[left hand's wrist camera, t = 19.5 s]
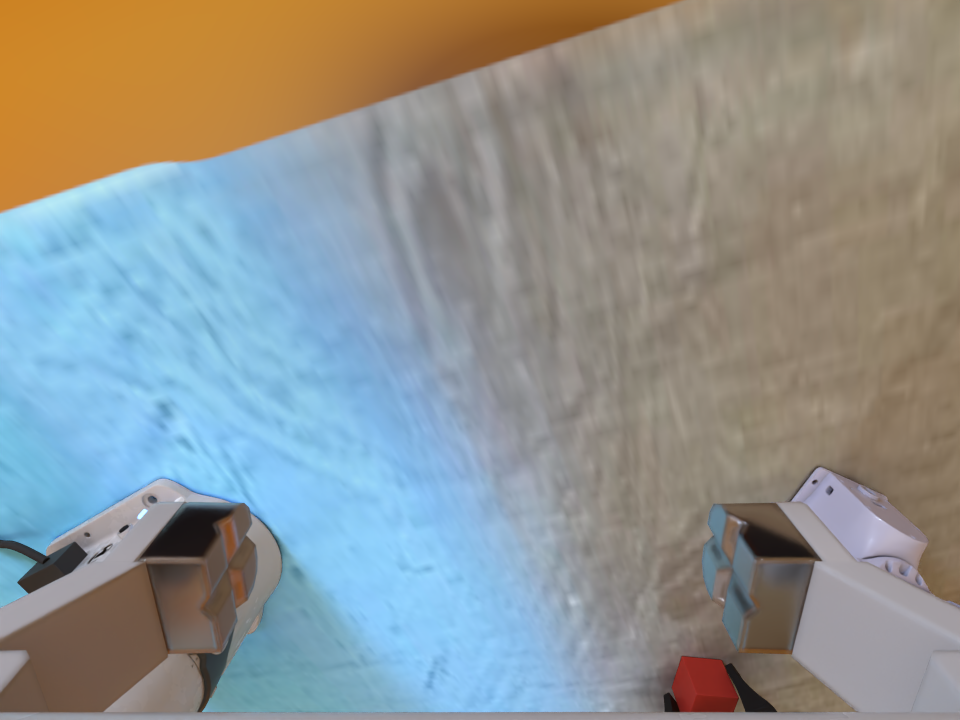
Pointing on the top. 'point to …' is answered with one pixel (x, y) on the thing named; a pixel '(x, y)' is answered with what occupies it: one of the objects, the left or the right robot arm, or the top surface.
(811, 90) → the top surface
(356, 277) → the top surface
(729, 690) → the block
